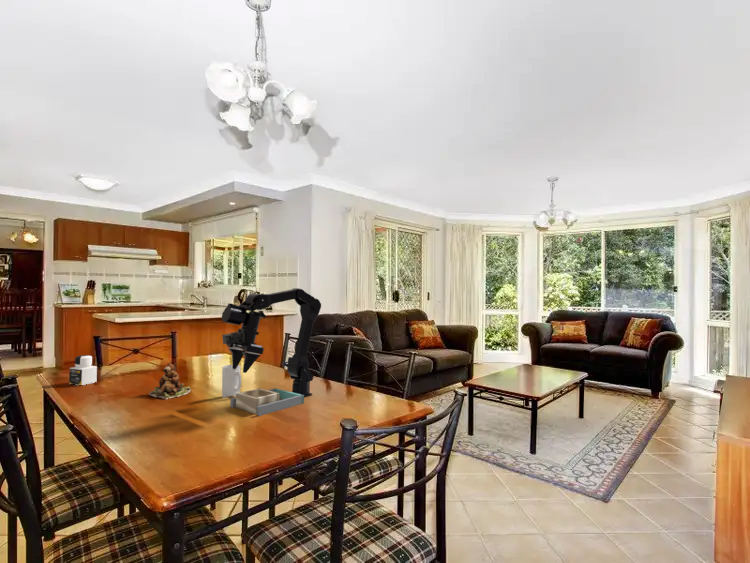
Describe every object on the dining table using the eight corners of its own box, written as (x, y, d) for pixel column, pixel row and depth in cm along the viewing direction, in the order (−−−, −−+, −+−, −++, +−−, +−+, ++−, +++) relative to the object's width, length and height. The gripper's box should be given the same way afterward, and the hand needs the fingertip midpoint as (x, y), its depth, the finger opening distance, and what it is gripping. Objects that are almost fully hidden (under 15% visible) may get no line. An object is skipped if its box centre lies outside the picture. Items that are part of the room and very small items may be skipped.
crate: (259, 401, 153) (259, 388, 153) (279, 407, 146) (279, 393, 146) (235, 407, 145) (236, 393, 145) (255, 414, 138) (256, 399, 138)
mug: (218, 397, 162) (218, 366, 163) (233, 393, 168) (234, 364, 168) (232, 402, 156) (233, 370, 156) (247, 398, 161) (248, 367, 161)
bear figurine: (140, 397, 160) (141, 366, 160) (168, 388, 175) (169, 359, 175) (170, 400, 157) (171, 368, 157) (196, 391, 171) (197, 361, 171)
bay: (275, 398, 162) (275, 388, 162) (303, 406, 153) (304, 395, 153) (230, 409, 146) (230, 398, 146) (259, 419, 136) (259, 407, 137)
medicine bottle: (68, 384, 178) (69, 356, 178) (84, 381, 184) (85, 354, 185) (81, 386, 176) (82, 357, 176) (96, 382, 182) (97, 355, 183)
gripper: (218, 321, 153) (207, 364, 150) (239, 324, 139) (227, 371, 136) (246, 327, 160) (236, 368, 157) (268, 331, 146) (258, 375, 143)
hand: (239, 370), depth 148 cm, fingers open, 9 cm apart
